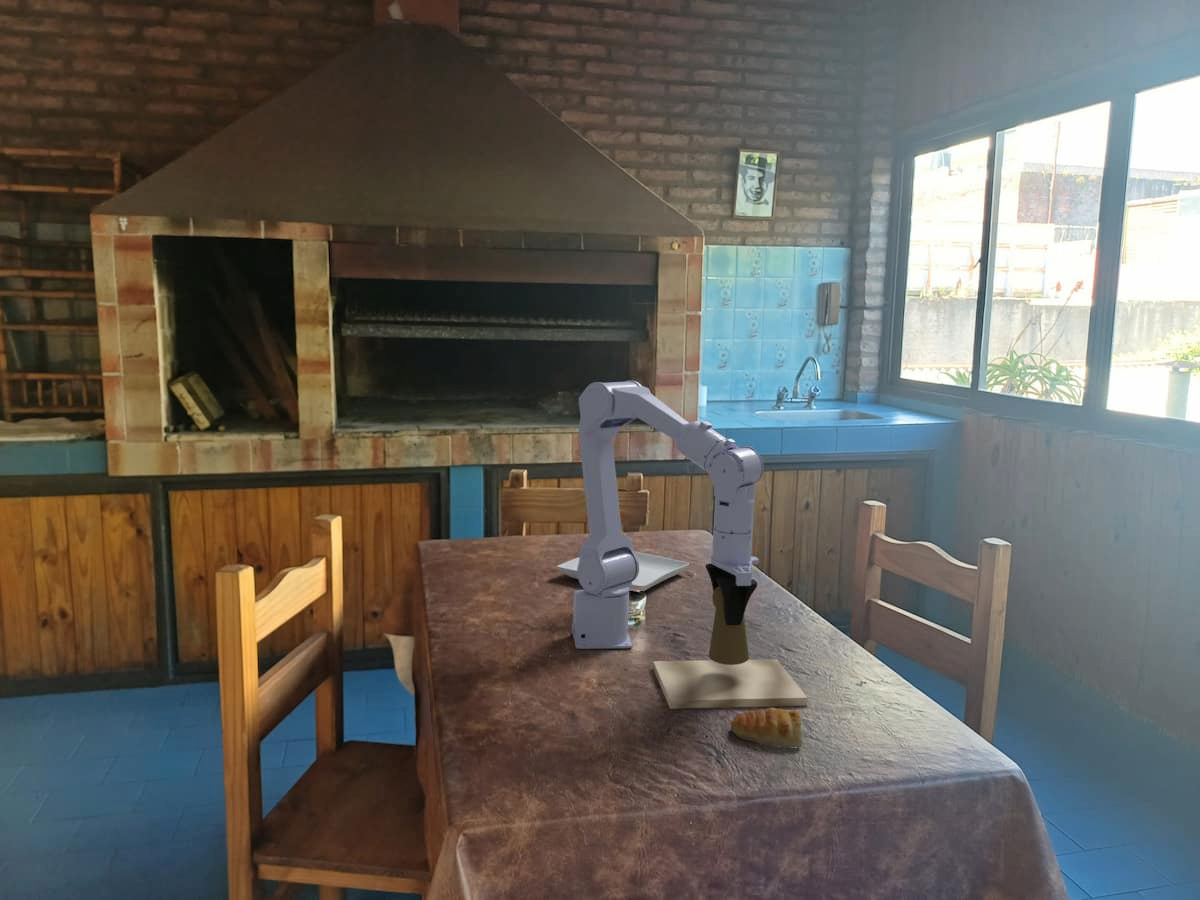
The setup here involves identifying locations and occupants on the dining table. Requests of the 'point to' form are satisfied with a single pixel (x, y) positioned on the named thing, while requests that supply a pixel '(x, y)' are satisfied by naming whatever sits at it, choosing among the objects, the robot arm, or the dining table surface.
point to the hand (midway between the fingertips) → (728, 617)
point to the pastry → (769, 727)
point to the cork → (727, 637)
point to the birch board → (727, 684)
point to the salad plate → (649, 569)
